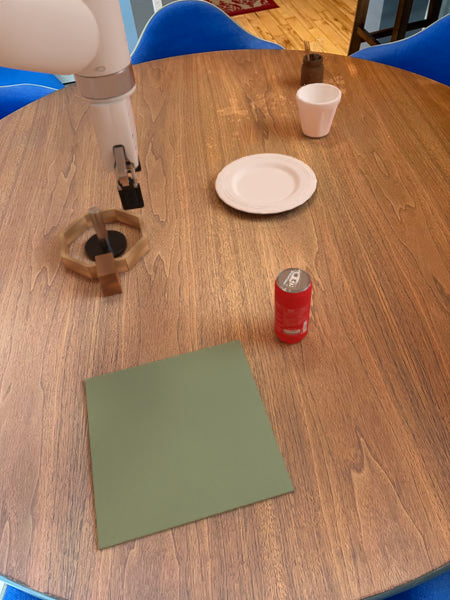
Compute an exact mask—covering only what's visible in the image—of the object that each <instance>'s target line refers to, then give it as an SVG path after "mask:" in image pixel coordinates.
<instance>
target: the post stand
mask: <svg viewBox="0 0 450 600" xmlns="http://www.w3.org/2000/svg"><path fill="white" fill-rule="evenodd" d="M100 210H101V209H100V207H98V206H92V207H90V208H89V209H88V212H89V215H90V218H91V221H92V223H93V226H92V227H93V229H94V231H95V233H94V234H93V235H91V236H90V237H89V238H88V239H87V240H86V241H85V244H84V252H85V255H86V256H87V258H88V259H90V260H92V261H95V256H98V255H103V254H107V253H111V252H112V253H113V256H114V259H115V258H119V257H121V255H123V254H124V253H125V251H126V250H127V248H128V240H127V237H126V235H125V234H124V233H122V232H121V231H119V230H114V229H108V230H107V227H106V224H104V221H103V218H102V215H101V212H100Z"/></svg>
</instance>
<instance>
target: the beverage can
mask: <svg viewBox="0 0 450 600" xmlns="http://www.w3.org/2000/svg"><path fill="white" fill-rule="evenodd" d="M312 293H313V281H312V278H311V276H310V274H309V272H307V271H305V270H304V269H302V268H299V267H288V268H284V269H282V270H281V271H280V272H278V274H277V276H276V278H275V280H274V295H273V296H274V299H273V300H274V301H273V302H274V304H273V305H274V307H273V310H274V311H273V315H274V316H273V331H274V334H275V335H276V336H277V338H278V339H279V341H281V342H282V343H283V344H287V345H297V344H299V343H300V342H302V341H303V340H304V338H306V336H307V335H308V332H309V326H310V314H311V303H312Z"/></svg>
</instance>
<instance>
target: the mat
mask: <svg viewBox="0 0 450 600" xmlns="http://www.w3.org/2000/svg"><path fill="white" fill-rule="evenodd" d="M247 358H248V357H247V355H246V353H245V351H244V347H243V345H242V342H241V340H240V338H239V339H235V340H232V341H227V342H224V343H220V344H216V345H212V346H209V347H205V348H201V349H197V350H193V351H190V352H185V353H181V354H177V355H174V356H170V357H166V358H163V359H159V360H154V361H151V362H146V363H142V364H140V365H134V366H132V367H127V368H124V369H123V368H122V369H120V370H117V371H116V370H115V371H112V372H109V373H104V374H100V375H97V376H93V377H89V378H85V379H84V385H85V386H84V387H85V388H84V389H85V401H86V412H87V423H88V435H89V436H88V437H89V449H90V460H91V473H92V484H93V485H92V486H93V498H94V509H95V510H94V511H95V524H96V532H97V533H96V534H97V546H98V547H97V548H98V550H99V551H102V550H105V549H109V548H111V547H115V546H119V545H122V544H125V543H128V542H131V541H134V540H137V539H141V538H144V537H148V536H151V535H154V534H158V533H161V532H165V531H168V530H170V529H174V528H177V527H181V526H184V525H188V524H191V523H194V522H197V521H201V520H203V519H208V518H210V517H213V516H217V515H220V514H224V513H227V512H230V511H234V510H237V509H240V508H243V507H246V506H251V505H253V504H257V503H261V502H263V501H267V500H270V499H273V498H276V497H277V498H278V497H280V496H283V495H286V494H290V493H293V492H295V488H294V486H293V482H292V480H291V477H290V475H289V471H288V469H287V466H286V463H285V460H284V458H283V455H282V453H281V449H280V447H279V444H278V441H277V439H276V436H275V433H274V430H273V427H272V424H271V422H270V419H269V417H268V414H267V411H266V408H265V405H264V403H263V400H262V397H261V394H260V391H259V389H258V386H257V383H256V380H255V377H254V375H253V372H252V369H251V366H250V364H249V361H248V359H247Z"/></svg>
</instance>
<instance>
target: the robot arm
mask: <svg viewBox="0 0 450 600" xmlns="http://www.w3.org/2000/svg"><path fill="white" fill-rule="evenodd" d="M122 14H123V13H122V9H121V5H120V0H0V68H7V69H13V70H19V71H26V72H34V73H42V74H50V75H56V76H71V75H73V78H74V81H75V84H76V88H77V91H78V95H79V97H80V99H81V100H82V101H84V102H87V103H88V106H89V111H90V117H91V120H92V121H91V122H92V125H93V130H94V133H95V138H96V142H97V146H98V150H99V153H100V156H101V161H102V166H103V169H104V171H105V172H106V173H107V174H109V173H112V172H114V175H115V180H116V186H117V187H116V188H117V193H118V196H119V200H120V203H121V208H122V209H124V210H127V211H131V210H137V209H143V208H145V201H144V197H143V193H142V188H141V185H140V183H139V182H138V179H137V174H136V173H139V172H142V163H141V159H140V155H139V148H138V146H139V145H138V136H137V135H138V134H137V127H136V122H135V115H134V111H133V107H132V101H131V97H130V96H131V95H133V94H134V93H135V91H136V89H137V82H136V77H135V72H134V67H133V64H132V58H131V54H130V50H129V44H128V39H127V33H126V29H125V25H124V24H125V23H124V20H123V15H122ZM129 174H131V176H129Z"/></svg>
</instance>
